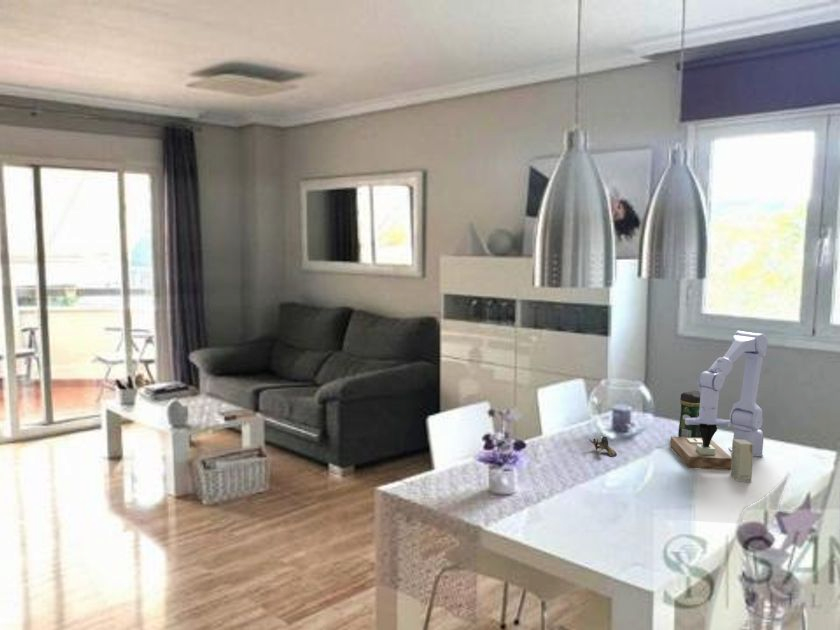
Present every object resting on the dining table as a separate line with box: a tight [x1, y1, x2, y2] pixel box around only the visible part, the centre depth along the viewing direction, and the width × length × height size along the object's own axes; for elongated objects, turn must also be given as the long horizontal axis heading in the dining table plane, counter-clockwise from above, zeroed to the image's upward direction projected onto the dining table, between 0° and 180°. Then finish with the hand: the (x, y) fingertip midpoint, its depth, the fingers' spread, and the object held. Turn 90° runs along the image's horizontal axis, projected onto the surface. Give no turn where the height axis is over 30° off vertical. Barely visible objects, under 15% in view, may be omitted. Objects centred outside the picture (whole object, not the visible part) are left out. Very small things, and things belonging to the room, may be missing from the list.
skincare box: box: [730, 438, 754, 483], centre depth 227 cm, size 6×4×12 cm
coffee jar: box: [677, 390, 702, 438], centre depth 271 cm, size 10×8×19 cm
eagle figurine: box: [588, 436, 618, 458], centre depth 251 cm, size 8×7×9 cm
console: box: [669, 436, 732, 471], centre depth 247 cm, size 14×24×4 cm, turn 175°
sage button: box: [696, 444, 715, 455], centre depth 241 cm, size 5×5×4 cm
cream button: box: [686, 438, 703, 444], centre depth 253 cm, size 5×5×4 cm
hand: (705, 445), depth 241 cm, fingers closed
